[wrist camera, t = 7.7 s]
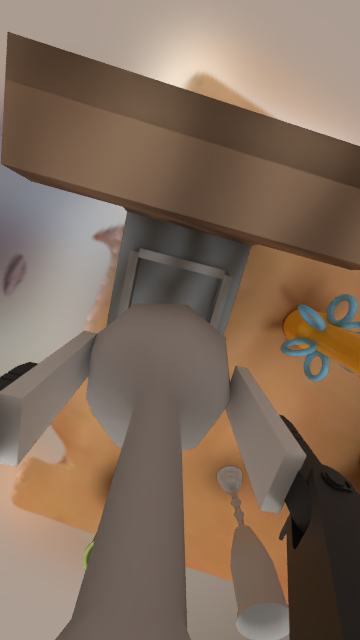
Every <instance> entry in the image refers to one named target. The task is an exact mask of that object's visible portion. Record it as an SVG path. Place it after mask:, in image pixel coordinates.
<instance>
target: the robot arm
mask: <svg viewBox="0 0 360 640" xmlns="http://www.w3.org/2000/svg"><path fill="white" fill-rule="evenodd" d="M96 335H97V334H95V333H91V332H87V331H83V332H82V333H81V334H79V335H78V336H77V337H75V338H74V339H72V340H71V341H70V342H68V343H67V344H65V345H64V346H63V347H61V348H60V349H58V350H57V351H56V352H54V353H53V354H51V355H50V356H49V357H47V358H46V359H45V360H43V361H42V362H41V363H39V364H37V363H32V362H28V363H25V364H22V365H19V366H17V367H15V368H14V369H12V370H11V371H9V372H8V373H6V374H4V375H3V376H1V377H0V464H4V465H9V466H15V467H17V466H18V464H19V463H20V462H21V461H22V459H23V458H24V457H25V455H26V454H27V453H28V452H29V450H30V449H31V448H32V447H33V445H34V444H35V443H36V442H37V440H38V439H39V438H40V436H41V435H42V434H43V432H44V431H45V430H46V429H47V427H48V426H49V425H50V424H51V423H52V421H53V420H54V419H55V418H56V416H57V415H58V414H59V412H60V411H61V410H62V409H63V407H64V406H65V405H66V404H67V402H68V401H69V400H70V399H71V397H72V396H73V395H74V393H75V392H76V391H77V390H78V388H79V387H80V386H81V385H82V383H83V382H84V381H85V380H86V378H87V377H88V376H89V368H90V360H91V352H92V348H93V345H94V341H95V338H96ZM225 409H226V412H227V415H228V418H229V421H230V424H231V427H232V430H233V433H234V436H235V438H236V441H237V444H238V447H239V450H240V453H241V456H242V459H243V462H244V465H245V468H246V471H247V474H248V477H249V480H250V483H251V486H252V489H253V492H254V494H255V497H256V500H257V503H258V506H259V509H260V510H261V511H266V512H272V513H277V514H279V513H280V511H281V509H282V506H283V504H284V502H285V503H286V505H287V507H288V509H289V511H290V514H289V516H288V518H287V520H286V522H285V524H284V526H283V528H282V530H281V532H280V536H279V539H280V540H283V538H284V536H285V535H286V534H287V565H288V601H289V636H290V640H360V494H358V493H356V492H355V490H354V488H353V486H352V485H351V484H350V483H349V482H348V481H347V479H346V478H345V477H343V476H342V475H341V474H340V473H338V472H337V471H335V470H334V469H332V468H330V467H328V466H326V465H323V464H321V463H320V461H319V460H318V459H317V457H316V456H315V454H314V453H313V452H312V450H311V449H310V448H309V446H308V445H307V443H306V442H305V441H303V438H302V437H301V435H300V434H298V431H297V430H296V428H295V427H294V426H293V424H292V423H291V422H290V421H289V420H287V419H286V418H285V417H284V416H282V415H279V414H278V413H277V411H276V410H275V408H274V407H273V406H272V404H271V403H270V401H269V400H268V398H267V397H266V395H265V394H264V392H263V391H262V389H261V388H260V386H259V385H258V384H257V382H256V381H255V379H254V378H253V376H252V375H251V373H250V372H249V370H248V369H247V368H243V367H239V366H236V367H235V370H234V373H233V376H232V378H231V381H230V401H229V403H228V404H227V406H226V408H225Z"/></svg>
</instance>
